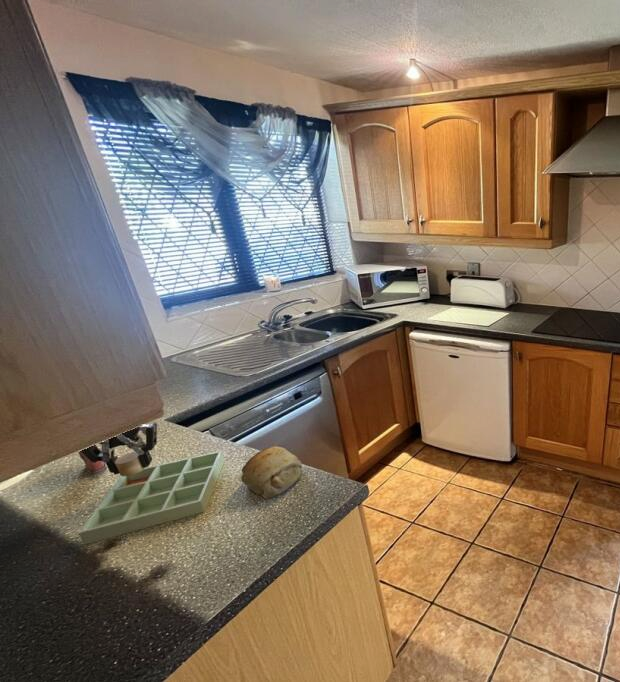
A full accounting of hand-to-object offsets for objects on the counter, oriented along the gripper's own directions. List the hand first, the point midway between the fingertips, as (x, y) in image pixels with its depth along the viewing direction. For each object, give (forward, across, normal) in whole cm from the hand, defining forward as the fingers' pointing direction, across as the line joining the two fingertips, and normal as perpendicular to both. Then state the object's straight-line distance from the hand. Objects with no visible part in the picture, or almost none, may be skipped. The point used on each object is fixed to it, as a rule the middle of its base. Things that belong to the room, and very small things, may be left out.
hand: (132, 468), depth 90 cm
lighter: (+6, +14, -14) cm, 21 cm away
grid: (+5, -6, +6) cm, 11 cm away
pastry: (+6, -29, +12) cm, 32 cm away
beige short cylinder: (0, 0, 0) cm, 0 cm away
